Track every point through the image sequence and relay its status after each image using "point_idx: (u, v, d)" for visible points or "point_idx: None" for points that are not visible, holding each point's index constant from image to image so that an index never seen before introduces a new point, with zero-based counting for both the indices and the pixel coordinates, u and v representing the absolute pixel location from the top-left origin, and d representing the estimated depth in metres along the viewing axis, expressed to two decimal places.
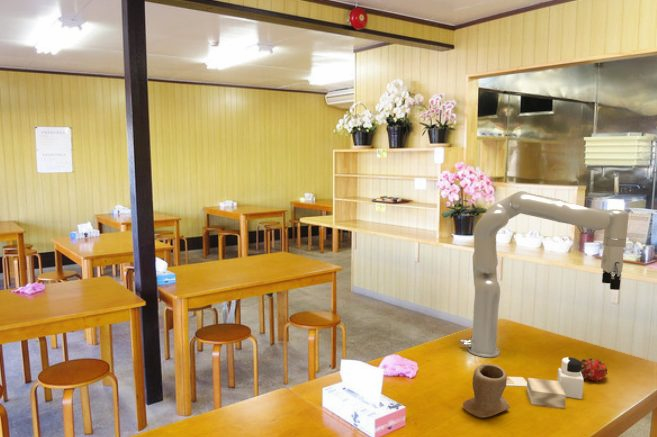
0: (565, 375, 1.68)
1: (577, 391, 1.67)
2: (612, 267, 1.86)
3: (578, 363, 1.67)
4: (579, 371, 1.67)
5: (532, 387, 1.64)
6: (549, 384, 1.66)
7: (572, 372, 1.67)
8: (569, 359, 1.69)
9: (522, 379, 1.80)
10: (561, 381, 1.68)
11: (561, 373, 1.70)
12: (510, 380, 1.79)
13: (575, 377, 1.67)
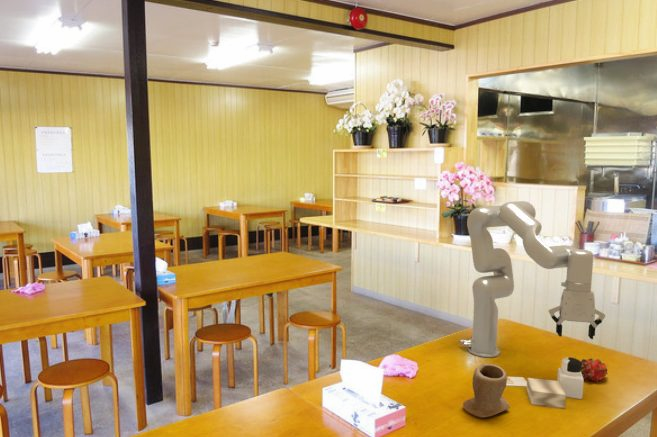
0: (565, 375, 1.68)
1: (577, 391, 1.67)
2: None
3: (578, 363, 1.67)
4: (579, 371, 1.67)
5: (532, 387, 1.64)
6: (549, 384, 1.66)
7: (572, 372, 1.67)
8: (569, 359, 1.69)
9: (522, 379, 1.80)
10: (561, 381, 1.68)
11: (561, 373, 1.69)
12: (510, 380, 1.79)
13: (575, 377, 1.67)
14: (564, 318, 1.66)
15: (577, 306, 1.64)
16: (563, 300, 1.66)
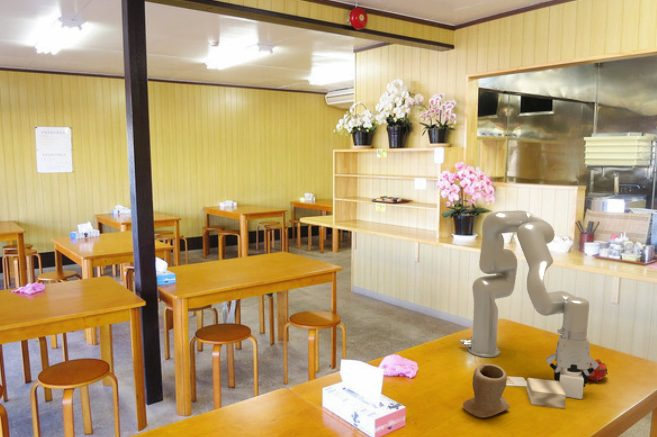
0: (565, 375, 1.68)
1: (577, 391, 1.67)
2: None
3: None
4: (579, 371, 1.67)
5: (532, 387, 1.64)
6: (549, 384, 1.66)
7: (572, 372, 1.67)
8: None
9: (522, 379, 1.80)
10: (561, 381, 1.68)
11: (561, 373, 1.69)
12: (510, 380, 1.79)
13: (575, 377, 1.67)
14: (560, 365, 1.68)
15: (572, 354, 1.66)
16: (559, 347, 1.68)
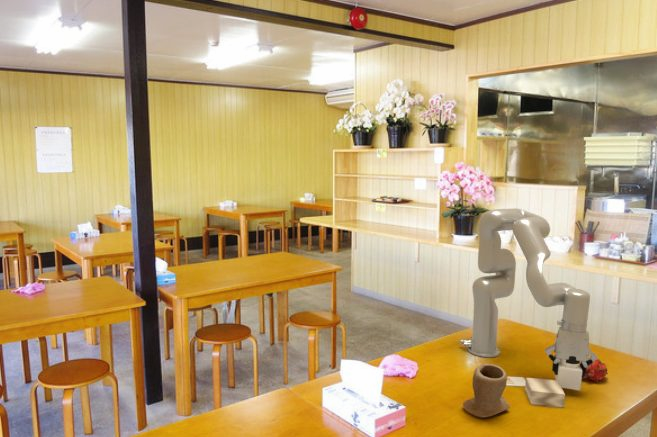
0: (564, 367, 1.68)
1: (575, 382, 1.67)
2: None
3: None
4: (578, 363, 1.68)
5: (531, 387, 1.64)
6: (548, 384, 1.67)
7: (571, 364, 1.67)
8: None
9: (522, 379, 1.80)
10: (560, 373, 1.68)
11: (560, 365, 1.70)
12: (510, 380, 1.79)
13: (574, 369, 1.67)
14: (558, 356, 1.68)
15: (572, 345, 1.67)
16: (558, 339, 1.68)
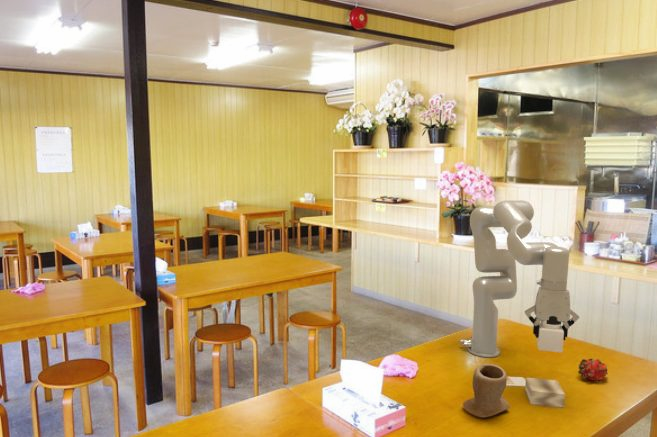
0: (544, 328, 1.61)
1: (557, 344, 1.59)
2: (569, 314, 1.60)
3: None
4: (559, 323, 1.60)
5: (531, 387, 1.64)
6: (548, 384, 1.67)
7: (551, 325, 1.60)
8: None
9: (522, 379, 1.80)
10: (540, 334, 1.61)
11: (540, 326, 1.62)
12: (510, 380, 1.79)
13: (555, 330, 1.60)
14: (539, 317, 1.61)
15: (552, 305, 1.59)
16: (538, 299, 1.61)
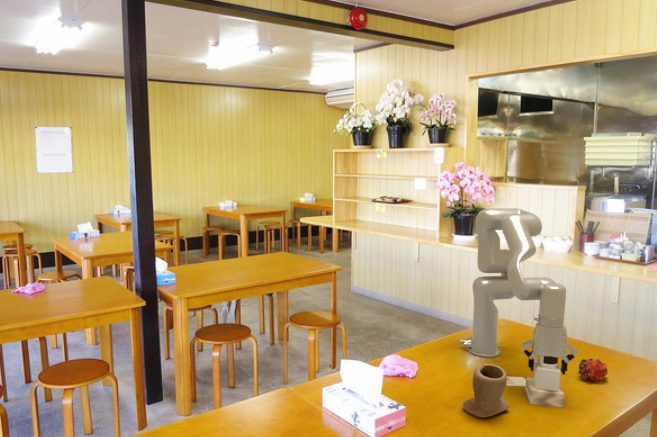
0: (541, 367, 1.63)
1: (554, 383, 1.61)
2: (566, 350, 1.61)
3: None
4: (556, 363, 1.62)
5: (531, 387, 1.65)
6: None
7: (548, 365, 1.62)
8: None
9: (522, 379, 1.80)
10: (537, 374, 1.63)
11: (537, 365, 1.64)
12: (510, 380, 1.79)
13: (551, 369, 1.61)
14: (536, 353, 1.62)
15: (549, 341, 1.61)
16: (535, 335, 1.62)
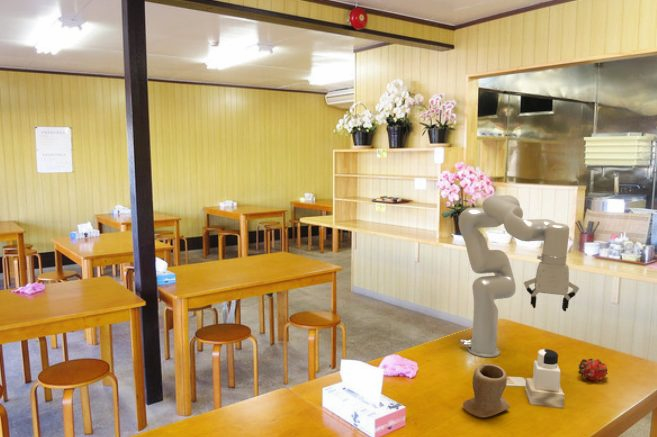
0: (542, 368, 1.63)
1: (554, 383, 1.61)
2: (568, 287, 1.67)
3: (555, 355, 1.62)
4: (556, 363, 1.62)
5: (531, 387, 1.64)
6: None
7: (548, 365, 1.62)
8: (545, 351, 1.64)
9: (522, 379, 1.80)
10: (538, 374, 1.62)
11: (537, 366, 1.64)
12: (510, 380, 1.79)
13: (552, 369, 1.61)
14: (538, 290, 1.69)
15: (551, 279, 1.67)
16: (538, 272, 1.69)
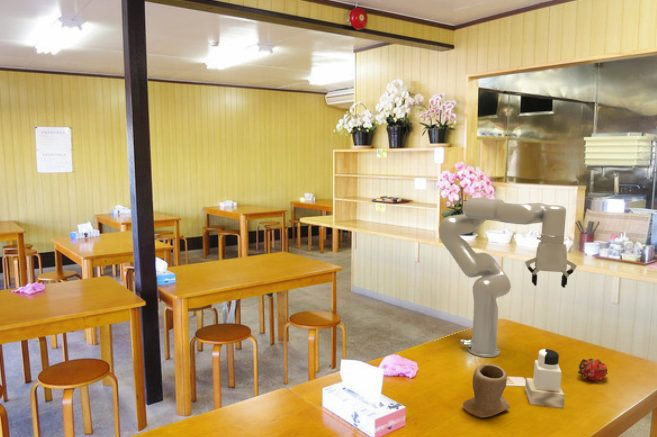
0: (542, 368, 1.62)
1: (555, 384, 1.61)
2: (566, 265, 1.79)
3: (555, 355, 1.61)
4: (556, 363, 1.62)
5: (531, 387, 1.64)
6: None
7: (549, 365, 1.61)
8: (546, 351, 1.64)
9: (522, 379, 1.80)
10: (538, 374, 1.62)
11: (538, 366, 1.64)
12: (510, 380, 1.79)
13: (553, 370, 1.61)
14: (539, 268, 1.80)
15: (551, 257, 1.78)
16: (538, 252, 1.80)
